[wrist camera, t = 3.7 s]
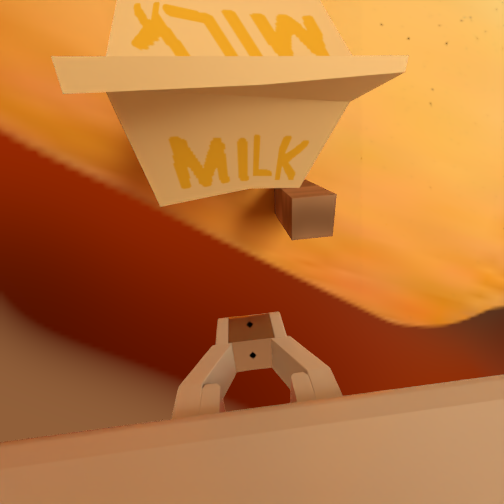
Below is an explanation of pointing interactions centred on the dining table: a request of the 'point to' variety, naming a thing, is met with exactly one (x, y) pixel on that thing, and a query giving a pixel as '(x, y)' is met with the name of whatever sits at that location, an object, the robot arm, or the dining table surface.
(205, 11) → the milk carton
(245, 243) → the dining table surface
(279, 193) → the walnut block
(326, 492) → the robot arm
